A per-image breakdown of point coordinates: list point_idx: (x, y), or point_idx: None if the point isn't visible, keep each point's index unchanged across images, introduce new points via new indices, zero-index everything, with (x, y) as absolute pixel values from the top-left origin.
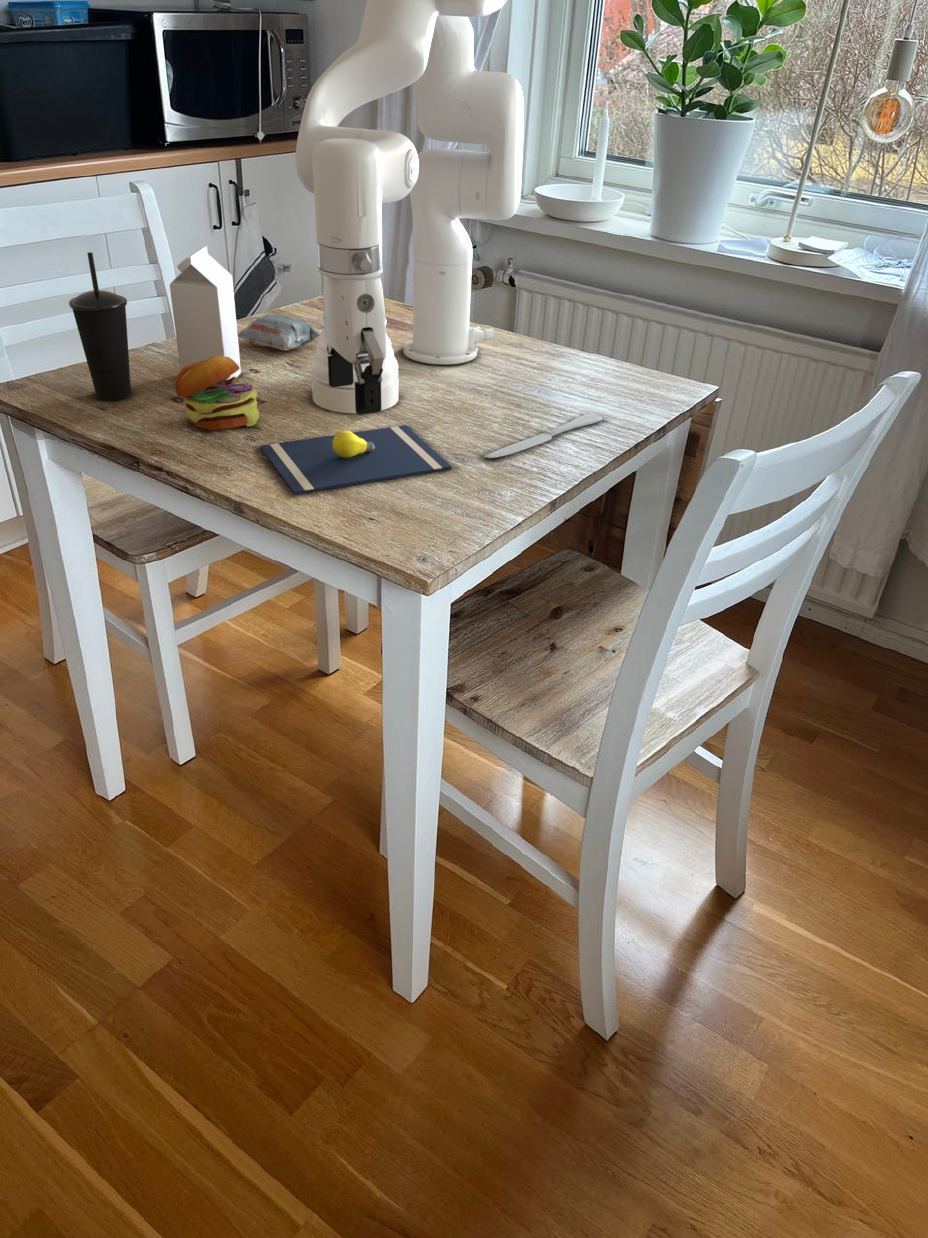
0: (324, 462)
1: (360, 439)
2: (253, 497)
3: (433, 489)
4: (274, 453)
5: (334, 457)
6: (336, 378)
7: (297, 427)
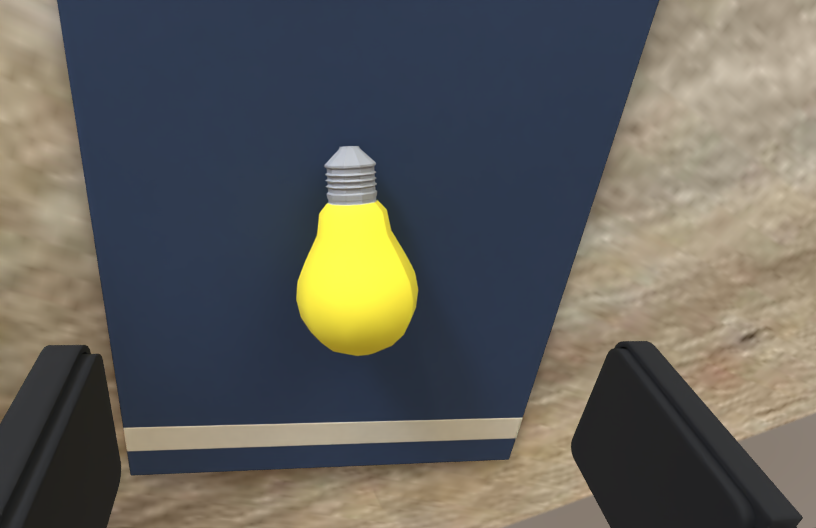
0: None
1: (375, 245)
2: (460, 522)
3: (763, 78)
4: (218, 452)
5: None
6: (103, 500)
7: None
